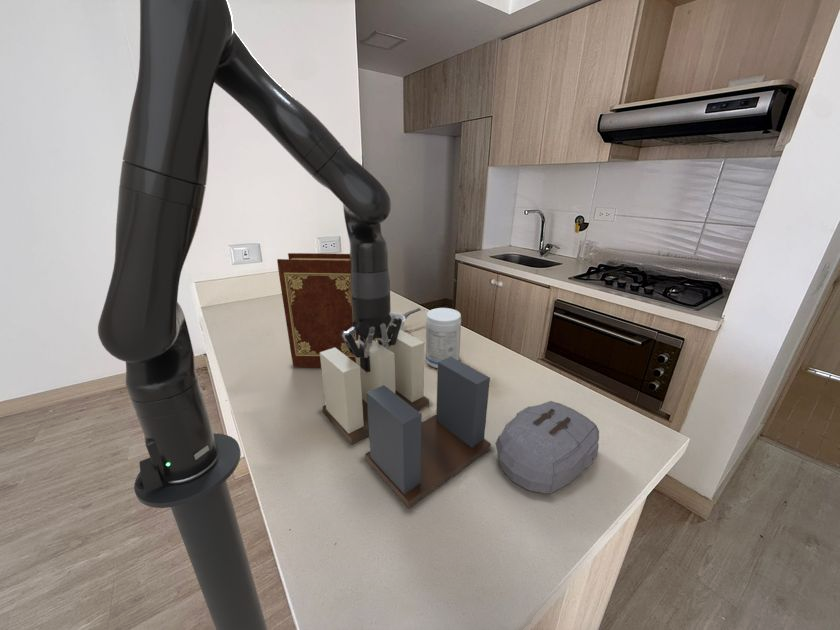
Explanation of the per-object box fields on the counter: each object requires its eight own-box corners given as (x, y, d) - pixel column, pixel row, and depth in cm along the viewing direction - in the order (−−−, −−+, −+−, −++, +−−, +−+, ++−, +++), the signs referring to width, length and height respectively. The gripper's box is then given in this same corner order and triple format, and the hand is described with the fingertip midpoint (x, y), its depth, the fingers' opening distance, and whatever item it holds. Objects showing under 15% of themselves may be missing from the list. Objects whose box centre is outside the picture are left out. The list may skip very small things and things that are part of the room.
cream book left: (348, 433, 67) (343, 372, 62) (326, 409, 74) (319, 352, 69) (363, 426, 69) (359, 366, 64) (340, 402, 76) (335, 347, 71)
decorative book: (378, 355, 100) (374, 253, 89) (374, 369, 93) (369, 260, 81) (302, 353, 100) (288, 252, 89) (292, 367, 93) (276, 259, 82)
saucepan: (430, 327, 119) (431, 312, 117) (385, 344, 106) (384, 328, 104) (409, 318, 127) (409, 304, 124) (364, 333, 114) (363, 317, 112)
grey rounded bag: (537, 416, 75) (476, 460, 63) (542, 383, 72) (479, 423, 60) (608, 456, 64) (550, 519, 52) (618, 420, 61) (558, 478, 49)
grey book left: (404, 494, 54) (403, 423, 49) (370, 457, 61) (366, 392, 56) (420, 483, 56) (421, 413, 51) (386, 448, 63) (384, 384, 58)
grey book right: (471, 447, 64) (477, 384, 59) (435, 420, 71) (437, 361, 66) (484, 439, 66) (490, 377, 61) (448, 413, 73) (450, 356, 68)
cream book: (382, 417, 72) (380, 358, 67) (358, 395, 79) (354, 341, 74) (395, 410, 74) (394, 353, 69) (371, 389, 81) (368, 336, 76)
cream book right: (412, 402, 77) (411, 347, 71) (386, 383, 84) (384, 331, 78) (423, 396, 79) (424, 342, 73) (398, 378, 86) (397, 327, 81)
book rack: (408, 508, 54) (408, 501, 53) (322, 411, 76) (321, 406, 75) (490, 449, 66) (491, 443, 65) (395, 380, 88) (395, 375, 87)
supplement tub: (433, 350, 103) (435, 305, 97) (463, 357, 99) (466, 310, 93) (419, 365, 95) (420, 316, 89) (451, 373, 91) (453, 323, 85)
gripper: (389, 280, 74) (391, 351, 80) (328, 293, 65) (336, 371, 72) (411, 288, 68) (411, 363, 75) (348, 303, 60) (354, 387, 66)
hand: (374, 367), depth 73 cm, fingers closed on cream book, 3 cm apart
